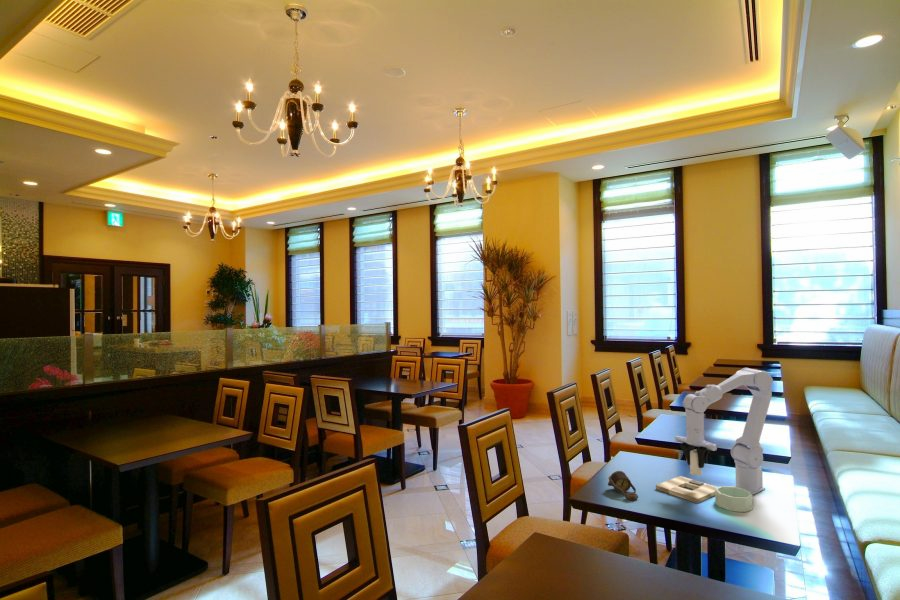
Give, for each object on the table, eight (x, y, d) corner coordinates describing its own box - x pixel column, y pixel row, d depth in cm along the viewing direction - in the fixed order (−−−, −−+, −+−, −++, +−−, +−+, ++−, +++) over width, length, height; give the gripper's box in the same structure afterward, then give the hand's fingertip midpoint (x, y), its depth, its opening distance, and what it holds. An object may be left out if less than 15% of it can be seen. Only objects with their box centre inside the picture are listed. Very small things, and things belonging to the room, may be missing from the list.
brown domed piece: (636, 473, 189) (609, 466, 191) (642, 482, 176) (613, 474, 178) (632, 492, 188) (605, 485, 190) (638, 503, 176) (608, 495, 178)
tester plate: (680, 479, 196) (680, 474, 196) (721, 492, 183) (721, 486, 183) (655, 489, 187) (655, 483, 187) (697, 503, 174) (697, 497, 174)
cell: (693, 471, 185) (693, 448, 185) (703, 474, 182) (702, 450, 182) (688, 473, 183) (687, 449, 183) (697, 476, 180) (697, 452, 180)
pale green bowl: (725, 496, 179) (725, 483, 179) (758, 506, 170) (758, 493, 170) (709, 503, 173) (708, 490, 173) (742, 514, 164) (742, 501, 164)
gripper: (670, 426, 186) (670, 462, 186) (708, 434, 174) (709, 473, 174) (680, 423, 190) (681, 459, 190) (719, 431, 178) (720, 469, 178)
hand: (695, 465), depth 182 cm, fingers closed on cell, 4 cm apart
